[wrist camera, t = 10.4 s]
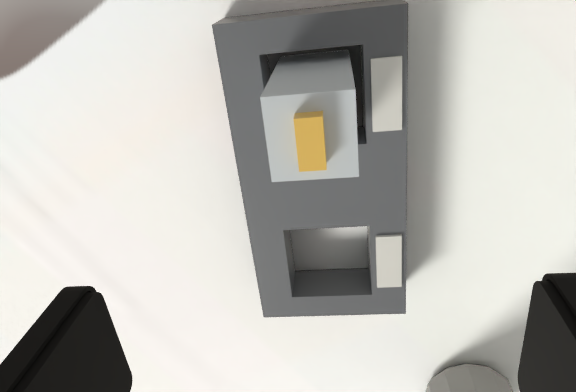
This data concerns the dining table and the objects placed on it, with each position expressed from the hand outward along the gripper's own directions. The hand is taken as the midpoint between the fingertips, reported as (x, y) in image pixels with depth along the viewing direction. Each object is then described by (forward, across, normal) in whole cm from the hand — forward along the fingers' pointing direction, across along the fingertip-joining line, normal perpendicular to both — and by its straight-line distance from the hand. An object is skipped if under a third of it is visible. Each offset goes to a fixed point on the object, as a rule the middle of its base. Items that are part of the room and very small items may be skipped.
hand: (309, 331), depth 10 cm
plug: (+20, +1, 0) cm, 20 cm away
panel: (+20, +1, +5) cm, 21 cm away
